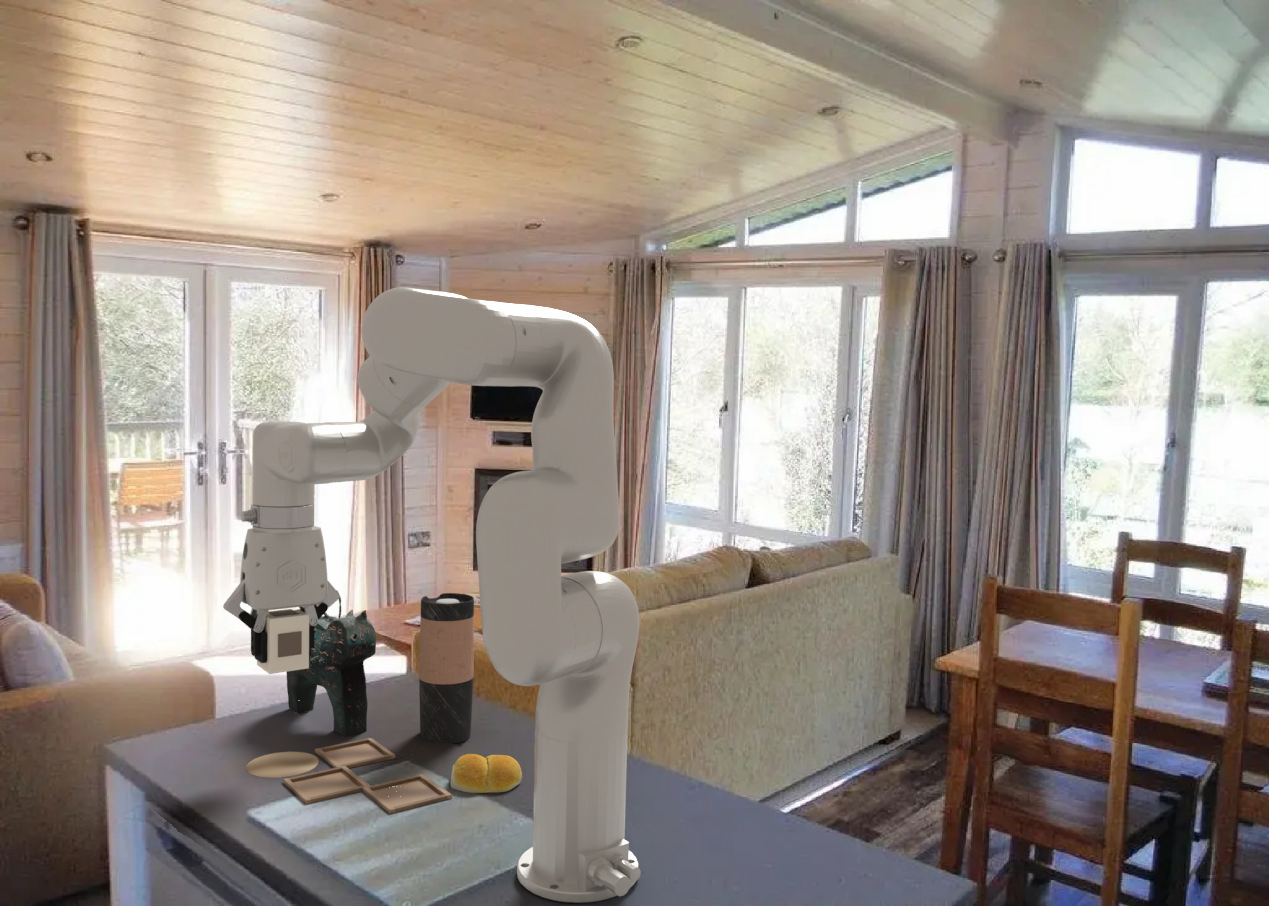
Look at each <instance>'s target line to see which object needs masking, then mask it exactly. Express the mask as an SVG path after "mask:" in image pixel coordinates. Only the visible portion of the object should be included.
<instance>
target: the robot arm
mask: <svg viewBox="0 0 1269 906" xmlns="http://www.w3.org/2000/svg"><path fill="white" fill-rule="evenodd" d="M361 338H362V343H363V346H364V348H365V350H366V352H367V353H368V354H369V357H367V358H366V359H365V360H364V361H363V363H362V364H361V365H360V367H359V370H358V373H357V384H358V385H357V386H358V388H359V391H360V393H361V395H362V397H363V398H364V399H363V400H364V401H366V403H367V404H368V405H369V406H370V407H371V409H373V411H372V412H371V413H369V414H368V415H367V416H366V417H365V418H363V419H362V420H360V421H351V422H350V421H343V422H341V421H338V422H337V421H336V422H335V421H333V422H331V421H330V422H313V423H312V422H307V423H306V422H300V421H299V422H298V421H266V422H265V421H263V422H261V423H258V424H257V425H256V426H255V428H254V429H253V433H252V504H250V508H249V509H247V510H242V511H241V513H240V519H241V522H243V523H244V522H245V523H246V522H247V523H250V525H251V526H252V528H251V527H250V528H248V529H247V531H246V535H245V540H244V545H243V549H242V557H241V565H240V576H239V578H240V579H239V584H238V585H237V586H236V587H235V589H234V590H233V592H232V593H231V594H230V595H229V597H228V598H227V599H226V601H225V602H224V603H223V606H222V608H223V610H225V611H226V612H228V613H230V614H231V615H233V616H234V617H236V618H237V619H239V620H240V621H241V622H242V623H243V624H244V625H245V626H247V627H248V628H249V629H250V652H251V653H250V654H251V655H252V656H253V657H254V659H255V660H256V661H257V660H258V661H259V662H260V663H266V662H267V632H265V627H264V625H265V622H266V618H267V615H268V611H269V610H277V609H286V608H295V607H296V608H298V609H299V610H301V611H303V612H305V613H307V614H309V656H311V648H314V626H315V625H317V623H318V620H319V619H320V618H321V616H324V613H325V612H326V613H327V611H328V609H329V608H330V607H331V606H333V605H334V604H335V603H336V602H337V601H339V597H341V595H340V593H338V592H339V591H338V590H337V589H336V588H335V587H334V586H333V584H332V583H330V581H329V580H328V568H327V558H326V549H325V543H324V538H323V537H324V536H323V532H322V528H321V527H319V526H316V525H315V499H316V497H315V493H316V492H315V490H316V489H315V486H316V485H324V484H332V483H333V484H335V483H343V482H356V481H357V482H358V481H360V482H361V481H366V480H370V479H372V478H375V477H376V476H379V475H381V474H382V473H383V472H385V471H387V470H388V469H389V468H390V467H391V466H392V465H394V464H395V463H396V462H397V461H398V460H400V458H402V457H403V456H404V455H405V454H406V453H407V452H408V451H409V450H410V448H411V447H412V446H413V444H414V442H415V440H416V437H417V433H418V430H419V425H420V419H421V418H420V416H421V415H420V412H421V411H422V410H423V409H424V408H426V406H428V404H430V403H431V402H432V401H433V400H434V399H436V397H437V396H439V394H440V393H442V392H443V391H444V390H445V389H446V388H448V386H449V385H451V384H452V383H453V384H459V385H463V386H464V385H467V386H477V387H478V386H479V387H533V388H534V387H535V388H539V389H541V390H542V393H541V395H540V397H539V400H538V401H537V403H536V406H535V409H534V412H533V416H532V421H531V429H530V430H531V431H530V437H531V448H532V466H531V467H532V468H531V470H522V471H517V472H512V473H509V474H506V475H504V476H502V477H501V478H499V479H498V480H497V481H496V482H495V483H493V484H492V485H491V487H489V489H488V490H487V491H486V494H485V495H484V497H483V499H482V502H481V503H480V506H479V510H478V512H477V513H478V514H477V517H476V519H477V520H476V525H475V526H476V528H475V529H476V530H475V538H476V539H475V541H476V558H477V560H476V561H477V575H478V588H479V589H478V590H479V602H480V603H479V607H480V620H481V622H480V623H481V630H482V631H481V632H482V637H483V643H484V648H485V650H486V654H487V657H488V659H489V661H490V663H491V665H492V666H493V668H494V670H496V672H497V674H499V675H500V676H501V677H502V678H503V679H505V680H506V681H508V683H511V684H514V685H517V686H522V687H533V686H537V685H538V686H539V689H538V693H537V699H536V706H535V725H534V727H535V729H534V764H533V766H534V767H533V768H534V769H533V773H534V774H533V775H534V776H533V821H532V822H533V824H532V825H533V826H532V846H531V847H530V848H528V849H527V850H525V851H524V852H523V854H521V856H520V857H519V859H518V861H517V866H516V873H517V879H518V881H519V883H520V884H521V885H522V886H523V888H525V889H526V890H528V891H529V892H531V893H532V894H534V895H536V896H539V897H542V898H544V899H548V900H551V901H557V902H564V903H574V904H575V903H576V904H577V903H578V904H579V903H580V904H581V903H594V902H600V901H601V902H602V901H604V900H608V899H612V898H614V897H617V896H618V897H622V896H625V895H626V894H628V892H629V890H630V889H631V888H632V887H633V886H634V885H635V883H636V882H637V881H638V880H639V879H640V877H641V875H642V871H641V869H640V868H639V867H640V866H639V865H640V864H639V861H638V859H637V857H636V855H635V854H634V853H633V852H632V851H630V842H629V840H626V839H625V836H626V835H625V834H626V802H627V801H626V800H627V799H626V798H627V795H626V794H627V764H628V762H627V761H628V760H627V759H628V729H629V708H630V707H629V703H630V690H631V689H630V688H631V679H632V671H633V668H634V667H633V665H634V660H635V657H636V651H637V647H638V642H639V636H640V635H639V634H640V611H639V606H638V603H637V600H636V598H635V595H634V594H633V592H632V590H631V588H629V586H628V585H627V584H626V583H625V582H623V580H622V579H620V578H618V577H617V576H615V575H613V574H610V573H609V572H604V571H595V570H585V571H578V572H573V573H568V574H564V575H562V565H563V564H568V563H573V562H578V561H581V560H586V559H589V558H592V557H595V556H598V555H600V554H602V553H604V552H605V551H607V550H608V549H609V548H611V547H612V545H614V543H615V540H616V539H617V537H618V535H619V531H620V530H619V529H620V500H619V499H620V498H619V482H618V469H617V468H618V467H617V465H618V464H617V451H616V439H615V429H614V428H615V427H614V394H615V393H614V392H615V391H614V390H615V388H614V387H615V377H614V375H615V374H614V364H613V358H612V354H611V352H610V349H609V346H608V344H607V341H606V340H605V338H604V336H602V334H601V332H599V330H598V329H597V328H595V326H593V324H591V323H590V322H589V321H587V320H585V319H584V318H582V317H579V316H577V315H576V314H574V313H573V314H572V313H570V312H567V311H564V310H560V309H556V308H552V307H546V306H539V305H538V306H537V305H533V304H532V305H531V304H521V303H509V302H502V301H500V302H499V301H494V300H485V299H484V300H483V299H476V298H475V299H474V298H468V297H466V296H464V295H461V294H457V293H454V292H453V293H452V292H447V291H440V290H432V289H422V288H413V287H406V286H405V287H403V286H402V287H401V286H399V287H394V288H390V289H387V290H385V291H383V292H382V293H380V294H378V295H377V296H376V297H375V298H374V299H373V300H372V302H371V303H370V304H369V305H368V307H367V309H366V310H365V313H364V316H363V319H362V323H361ZM336 590H337V591H338V592H337V591H336ZM242 603H243V604H246V605H248V606H250V608H251V610H250V612H248V611H246V610H245V609H243V608H242V607H241V604H242Z"/></svg>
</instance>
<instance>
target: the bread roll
mask: <svg viewBox="0 0 1269 906" xmlns="http://www.w3.org/2000/svg"><path fill="white" fill-rule="evenodd" d="M522 779H523V773H522V768H521V766H520V763H519V762H518V761H517V760H516V759H515V758H513V757H512V756H510V755H508V754H507V755H505V754H489V755H488V756H486V757H484V756H482V755H480V754H476V753H467V754H463V755H461V756H459V757H458V759H456V761H455V762H454V763H453V765H452V771H451V775H450V787H451V789H453V790H455V791H460V792H464V793H471V794H483V793H505V792H506V793H507V792H509V791H512V789H514V788H515V787H517V786H519V785H520V784H521V782H522Z"/></svg>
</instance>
